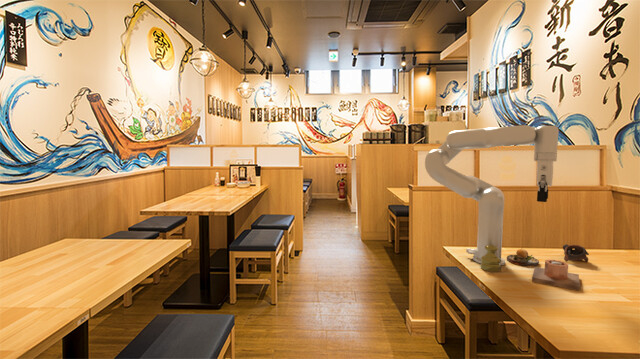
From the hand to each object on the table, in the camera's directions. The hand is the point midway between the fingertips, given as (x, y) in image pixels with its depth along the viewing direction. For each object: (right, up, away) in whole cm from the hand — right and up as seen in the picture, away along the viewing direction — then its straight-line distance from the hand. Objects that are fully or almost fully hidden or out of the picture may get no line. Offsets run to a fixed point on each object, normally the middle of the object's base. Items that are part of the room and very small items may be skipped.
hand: (542, 200), depth 134 cm
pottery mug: (+22, -28, +13) cm, 38 cm away
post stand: (-1, -29, -9) cm, 31 cm away
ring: (-1, -28, -9) cm, 29 cm away
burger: (-1, -28, +11) cm, 30 cm away
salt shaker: (-20, -28, +2) cm, 35 cm away
